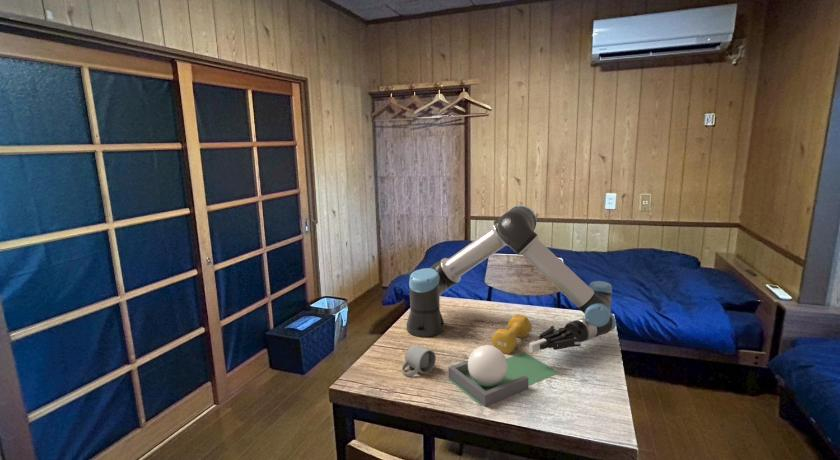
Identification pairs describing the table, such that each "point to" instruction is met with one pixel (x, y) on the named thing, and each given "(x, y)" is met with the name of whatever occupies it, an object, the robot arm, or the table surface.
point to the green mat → (519, 372)
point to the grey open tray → (480, 394)
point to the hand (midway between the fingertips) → (530, 348)
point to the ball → (487, 365)
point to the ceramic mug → (419, 360)
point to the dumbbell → (511, 334)
